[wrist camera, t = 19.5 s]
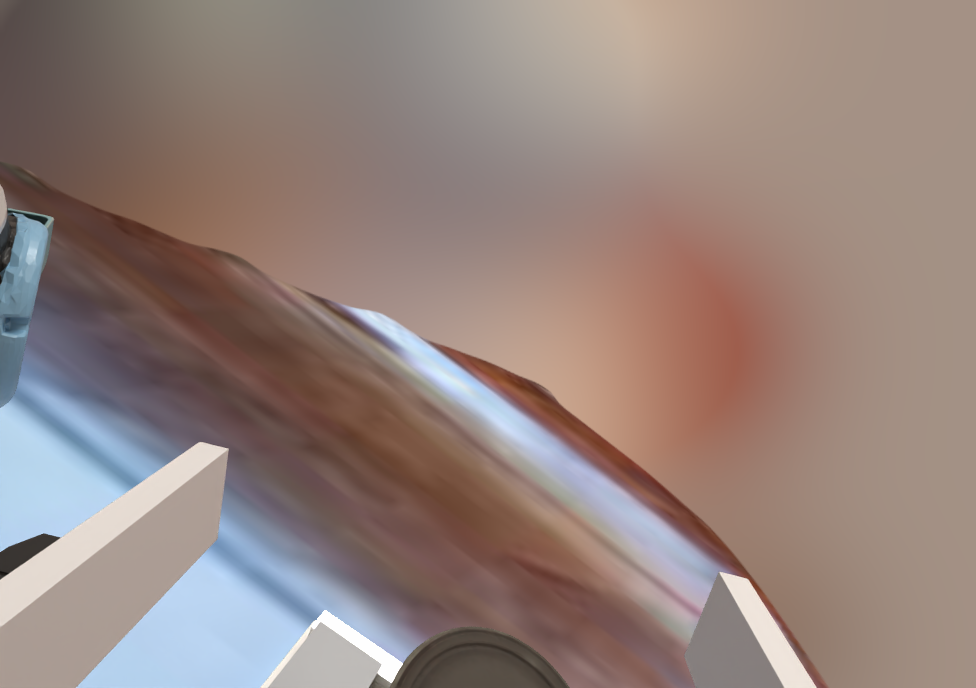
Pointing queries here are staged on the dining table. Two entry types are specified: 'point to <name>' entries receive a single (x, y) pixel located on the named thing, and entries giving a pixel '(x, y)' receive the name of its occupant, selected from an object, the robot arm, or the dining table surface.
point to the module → (328, 663)
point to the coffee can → (476, 662)
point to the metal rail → (364, 649)
